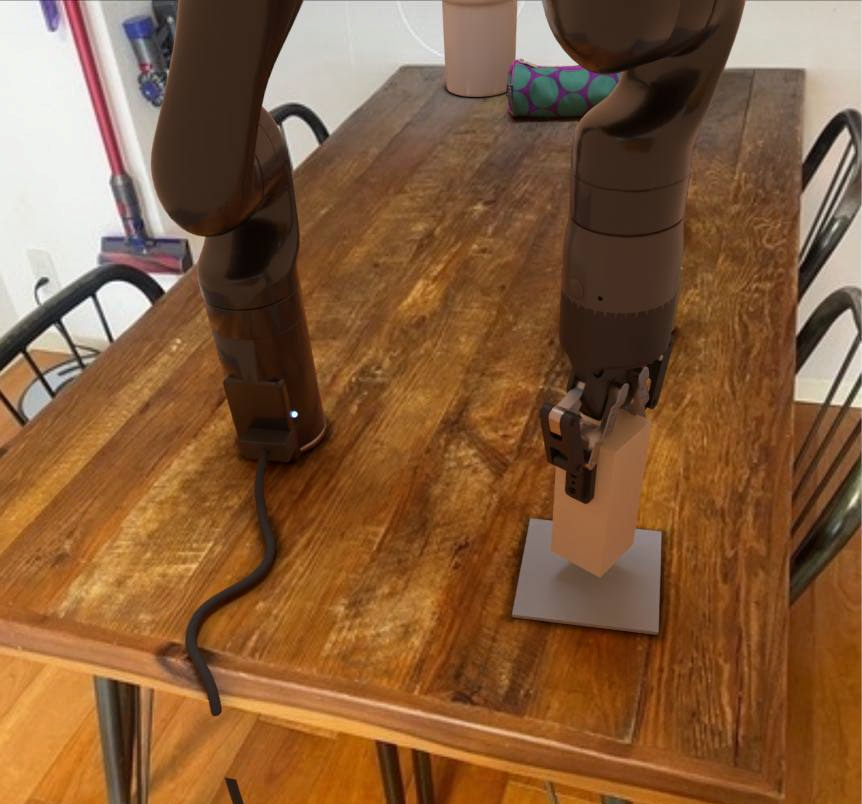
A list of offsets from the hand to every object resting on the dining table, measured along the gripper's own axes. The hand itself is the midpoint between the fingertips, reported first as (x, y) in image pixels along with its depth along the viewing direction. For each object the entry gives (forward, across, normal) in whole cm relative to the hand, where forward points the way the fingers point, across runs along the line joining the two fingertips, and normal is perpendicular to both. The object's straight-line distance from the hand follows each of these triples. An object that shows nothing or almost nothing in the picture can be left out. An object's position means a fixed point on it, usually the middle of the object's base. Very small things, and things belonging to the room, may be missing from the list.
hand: (600, 478), depth 67 cm
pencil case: (+11, +94, +70) cm, 117 cm away
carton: (+1, 0, 0) cm, 1 cm away
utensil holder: (+11, +98, +94) cm, 136 cm away
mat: (+11, 0, 0) cm, 11 cm away
